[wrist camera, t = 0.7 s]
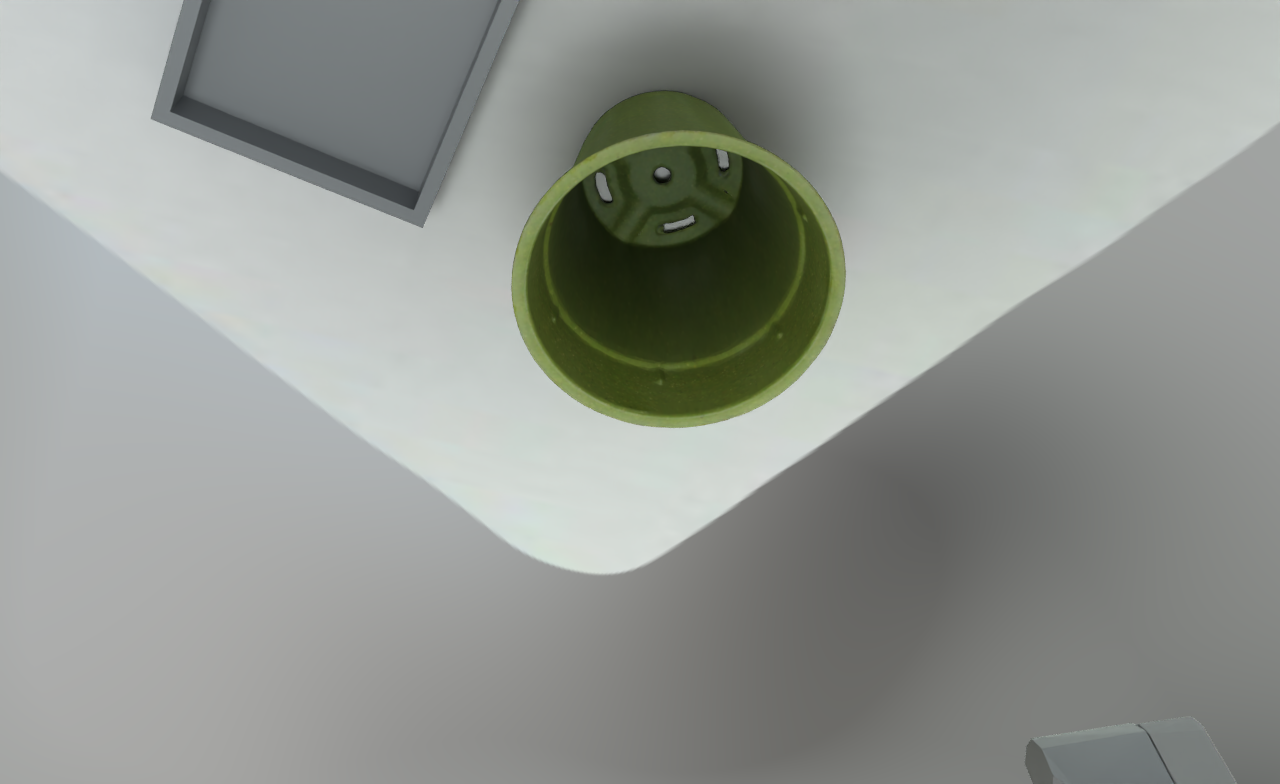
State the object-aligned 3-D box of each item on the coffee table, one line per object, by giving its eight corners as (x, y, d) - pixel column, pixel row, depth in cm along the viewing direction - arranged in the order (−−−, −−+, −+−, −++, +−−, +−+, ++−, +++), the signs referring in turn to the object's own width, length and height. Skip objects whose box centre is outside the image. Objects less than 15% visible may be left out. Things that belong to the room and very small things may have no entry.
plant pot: (665, -31, 46) (692, 58, 37) (848, 170, 52) (912, 293, 42) (462, 167, 50) (440, 292, 41) (650, 335, 56) (669, 481, 46)
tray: (245, -175, 43) (229, -164, 41) (529, -38, 46) (528, -22, 44) (168, 97, 48) (150, 118, 46) (428, 203, 51) (422, 227, 49)
